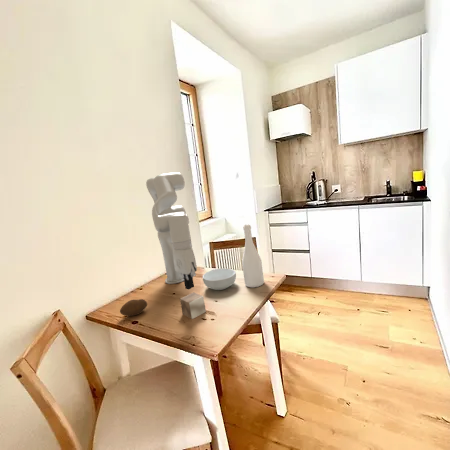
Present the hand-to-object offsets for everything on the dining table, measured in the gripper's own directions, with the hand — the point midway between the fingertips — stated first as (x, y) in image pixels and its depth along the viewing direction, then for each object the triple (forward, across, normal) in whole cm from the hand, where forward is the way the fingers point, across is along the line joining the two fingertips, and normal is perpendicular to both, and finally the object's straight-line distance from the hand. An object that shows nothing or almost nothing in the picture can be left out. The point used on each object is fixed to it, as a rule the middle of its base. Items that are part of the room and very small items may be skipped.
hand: (189, 287), depth 105 cm
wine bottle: (+11, +3, +35) cm, 37 cm away
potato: (+11, -22, -16) cm, 30 cm away
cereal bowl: (+11, -10, +24) cm, 29 cm away
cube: (+8, -4, 0) cm, 9 cm away
